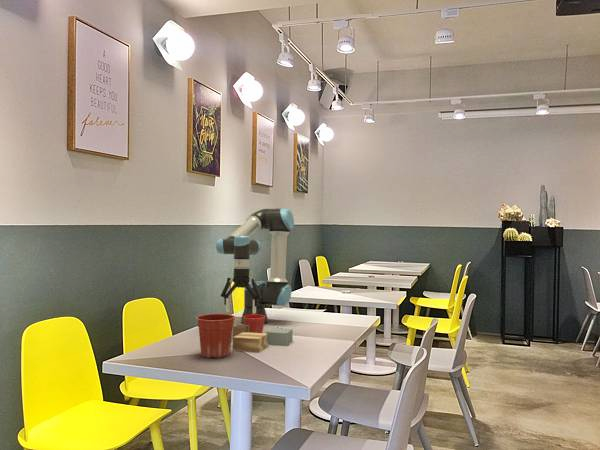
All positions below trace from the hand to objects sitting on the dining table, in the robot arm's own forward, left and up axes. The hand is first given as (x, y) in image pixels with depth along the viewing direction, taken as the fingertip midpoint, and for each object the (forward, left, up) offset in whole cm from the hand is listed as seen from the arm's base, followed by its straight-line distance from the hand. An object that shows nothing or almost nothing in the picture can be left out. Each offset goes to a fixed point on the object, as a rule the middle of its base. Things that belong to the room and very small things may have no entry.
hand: (240, 312), depth 240 cm
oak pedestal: (+13, +10, -14) cm, 21 cm away
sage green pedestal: (-1, +19, -14) cm, 23 cm away
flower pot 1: (+28, 0, -14) cm, 31 cm away
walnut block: (0, 0, -13) cm, 13 cm away
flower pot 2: (-12, +2, -14) cm, 18 cm away
